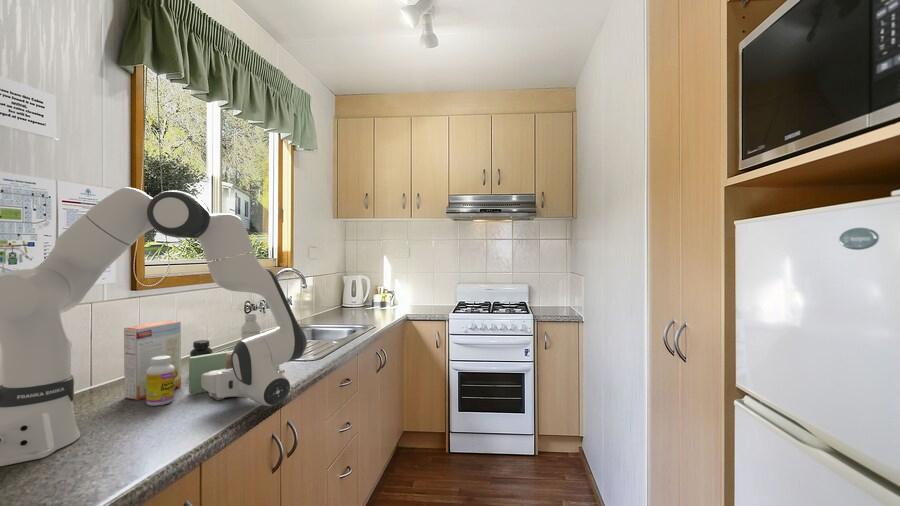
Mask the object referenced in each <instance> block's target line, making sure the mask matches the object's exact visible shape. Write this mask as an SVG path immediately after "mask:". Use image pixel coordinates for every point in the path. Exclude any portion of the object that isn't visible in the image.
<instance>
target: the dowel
mask: <svg viewBox="0 0 900 506" xmlns="http://www.w3.org/2000/svg"><path fill="white" fill-rule="evenodd" d="M232 353H233V352H231V353H227V354H226V369H231V368H232V363H231V356H232Z"/></svg>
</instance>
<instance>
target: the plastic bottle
mask: <svg viewBox="0 0 900 506" xmlns="http://www.w3.org/2000/svg"><path fill="white" fill-rule="evenodd" d="M258 334H261V326H260V325H259V323H258V322H257V314H253V313H252V314H245V315H244V323H243V324H242V326H241V329H240V335H241V340H244V339H246V338H249V337H252V336H255V335H258Z"/></svg>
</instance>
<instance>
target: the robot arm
mask: <svg viewBox="0 0 900 506" xmlns="http://www.w3.org/2000/svg"><path fill="white" fill-rule="evenodd" d="M204 202H205V201H202V200H201V199H200V198H198V197H197V196H195V195H194V194H191V193H189V192H184V191H180V190H166V191H162V192H160V193H158V194H156V195H155V196H154V197H152V196H150V195H149V194H147V193H146V192H144V191H142V190H140V189H137V188H134V187H122V188H120V189H117V190H116V191H114V192H111V194H109V195H107V196H106V197H105V198H103V199H101V200H100V201H99V202H97V203H96V204H95V205H93V206H92V207H91V208H89V209H88V210H87V211H86V212H85V213H84V214H83V215H81V216H80V217H79V218H78V219H77V220H76V221H75V222H73V224H71V225H70V226H69V227H67V229H65V230H64V231H63V232H62V233H61V234H60V235H58V237H57V238H56V240H55V241H54V242H55V244H54V246H53V248H52V250H51V251H50V253H48V255H47V256H46V257H45V259H44V260H43V261H42V262H41V263H40V264H38V265H37V266H35V267H33V268H28V269H27V268H25V269H14V270H11V271H7V272H5V273H2V274H0V348H1V358H2V360H1V361H2V363H1V366H2V371H1V373H2V374H1V375H2V376H1V377H2V379H1V381H2V382H1V383H2V384H1V385H0V467H4V466H8V465H14V464H18V463H23V462H24V463H25V462H29V461H33V460H38V459H43V458H46V457H48V456H50V455H51V454H53V453H54V452H56V451H57V450H59V449H62V448H64V447H67V446H69V445H70V444H72V443H74V442H76V441H77V440H78V439H79V438H80V436H81V433H80V430H79V428H78V426H77V425H78V424H77V422H76V416H75V412H74V411H75V410H74V403H73V401H74V399H75V398H74V397H75V389H76V388H75V387H76V386H75V385H76V384H75V377H74V375H73V374H72V357H73V355H72V353H73V352H72V349H73V347H72V341H71V339H70V338H69V337H68V336H67V334H66V331H65V328H64V325H63V322H62V315H61V314H63V313H67V312H68V311H70V310H71V309H73V308H75V307H77V306H78V305H79V304H80V303H81V302H82V301H83V300H84V299H85V297H86V294H88V292H89V291H90V290H91V289H92V288H93V287H94V285H95V284H96V283H97V281H98V279H100V277H101V276H102V275H103V274H104V273H105V272H106V270H107V269H108V268H109V267H110V266H112V264H113V263H114V262H115V261H117V259H119V258H120V256H122V255H123V254H124V253H125V252H126V251H127V250H129V248H131V246H133V245H134V244H135V243H136V242H137V241H138V239H140V238H141V237H142V236H143V235H145V234H146V233H148V232H149V231H152V230H155V231H156V232H158V233H159V234H162V235H164V236H166V237H170V238H171V237H172V238H177V239H183V238H184V239H185V238H186V239H195V240H197V241H198V242H199V244H200V245H201V247H202V250H203V253H204V256H205V261H206V264H207V268H208V271H209V274H210V276H211V279H212V280H213V283H215V284H216V285H217V286H219V287H221V288H222V289H225V290H227V291H231V292H239V293H250V294H256V295H259V296H261V297H263V299H264V300H265V301H266V303H267V305H268V307H269V310H270V312H271V313H272V317H273V318H274V320H275V322H276V326H275V328H272V329H270V330H267V331H263V332H260V334H258V335H255V336H252V337H249V338H246V339H244V340H242V339H241V340H238V342H237V343H236V344H235V346H234V348H233V350H232V351H233V353H232V356H231V363H232V368H231V369H226V368H225V369H220V370H219V371H214V372H208V373H204V374H202V375H201V387H202V388H203V389H205V390H206V391H207V392H208V393H209V392H210V393H216V396H217V397H219V398H222V397H224V398H231V397H232V398H234V397H240V398H241V397H242V398H243V397H244V398H245V397H246V398H247V399H250V400H251V401H253V402H255V403H257V404H260V405H262V406H266V407H273V406H276V405H278V404H280V403H282V402H283V401H284V400H286V398H287V397H288V395H289V394H290V391H291V383H290V381H289V379H288V378H287V377H286V376H285V375H284V373H285V372H286V371H285V370H286V369H283V368H280V366H281V365H283V364H285V363H289V362H292V361H296V360H298V359H301V358H302V356H303V354H304V353H305V351H306V348H307V345H308V340H307V337H306V335H305V333H304V331H303V329H302V327H301V326H300V324H299V323H298V320H297V319H296V317H295V315H294V313H293V311H292V308H291V306H290V304H289V302H288V299H287V297H286V295H285V293H284V290H283V288H282V286H281V284H280V283H279V281H278V279H277V277H276V275H275V274H274V273H273V272H272V271H271V270H270V269H268V268H265V267H264V266H262V264H261V263H260V262H259V260H258V258H257V256H256V254H255V250H254V247H253V243H252V239H251V238H250V235H249V232H248V230H247V229H246V227H245V224H244V223H243V220H242V219H241V217H239V216H237V215H236V214H232V213H225V212H224V213H223V212H222V213H211V212H210V209H209V208H208V206H207V205H206V204H205V203H204Z"/></svg>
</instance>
